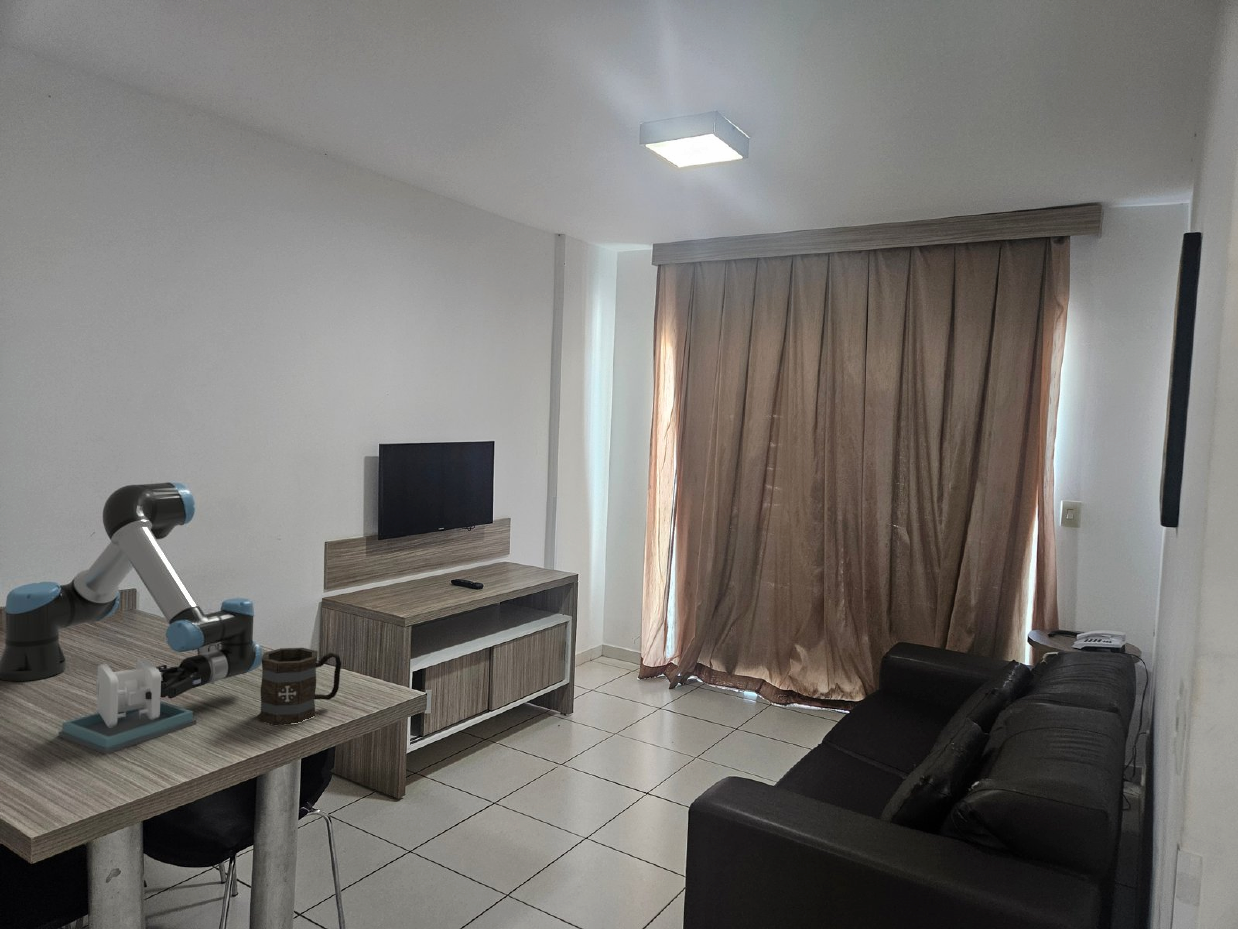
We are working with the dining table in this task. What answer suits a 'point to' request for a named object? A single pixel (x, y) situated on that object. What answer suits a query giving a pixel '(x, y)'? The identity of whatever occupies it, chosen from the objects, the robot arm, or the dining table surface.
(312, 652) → the mug
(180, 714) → the teal tray
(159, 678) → the white spool piece
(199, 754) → the dining table surface
